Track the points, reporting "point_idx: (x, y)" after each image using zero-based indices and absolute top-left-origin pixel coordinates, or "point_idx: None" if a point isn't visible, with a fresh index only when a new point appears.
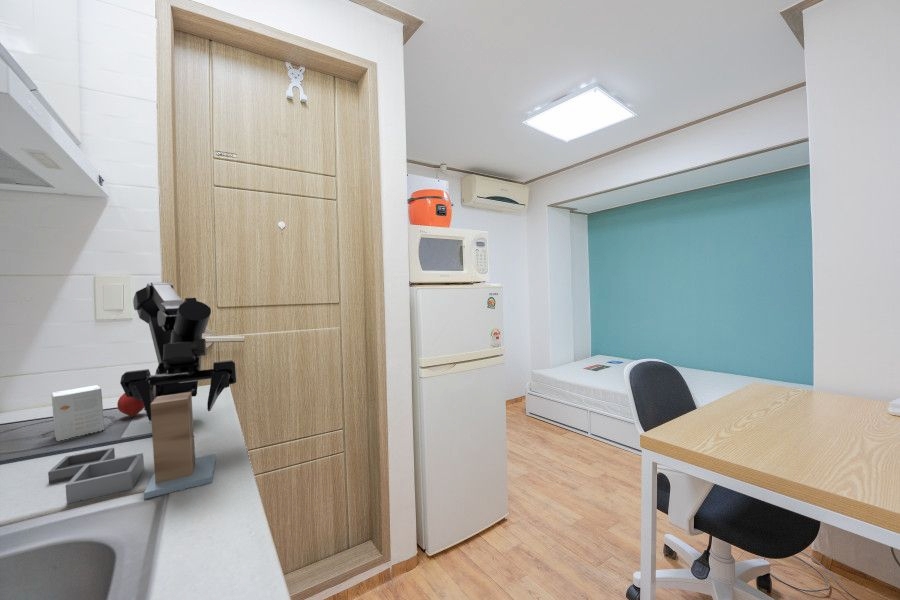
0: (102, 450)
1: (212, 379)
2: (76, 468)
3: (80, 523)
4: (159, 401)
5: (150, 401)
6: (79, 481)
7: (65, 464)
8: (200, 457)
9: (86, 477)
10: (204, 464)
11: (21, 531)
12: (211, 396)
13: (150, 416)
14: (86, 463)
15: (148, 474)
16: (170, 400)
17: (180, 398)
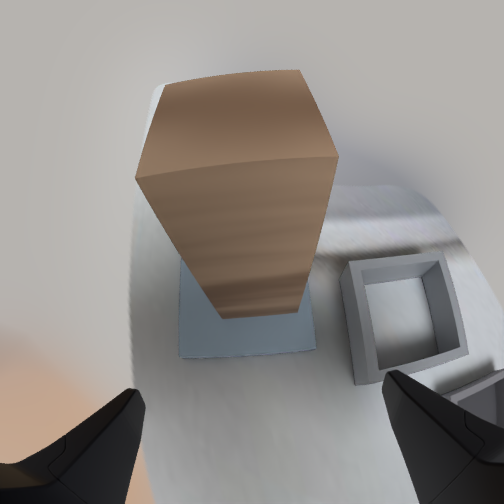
0: None
1: (24, 484)
2: (480, 381)
3: (362, 194)
4: (275, 81)
5: (436, 419)
6: (429, 256)
7: (501, 423)
8: (214, 352)
9: (444, 331)
10: (199, 298)
11: (428, 211)
12: (92, 424)
13: (391, 374)
14: None
15: (332, 343)
16: (229, 80)
17: (191, 90)
